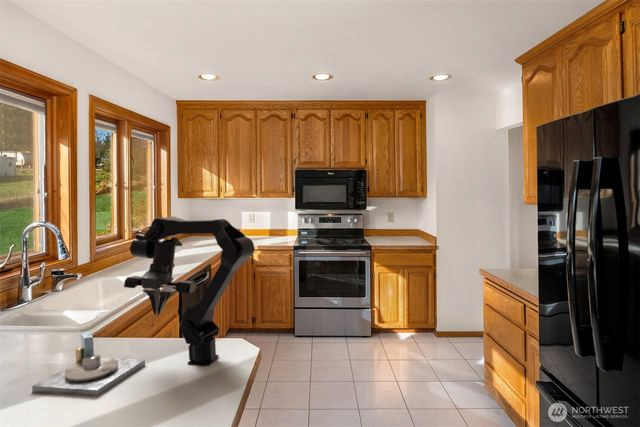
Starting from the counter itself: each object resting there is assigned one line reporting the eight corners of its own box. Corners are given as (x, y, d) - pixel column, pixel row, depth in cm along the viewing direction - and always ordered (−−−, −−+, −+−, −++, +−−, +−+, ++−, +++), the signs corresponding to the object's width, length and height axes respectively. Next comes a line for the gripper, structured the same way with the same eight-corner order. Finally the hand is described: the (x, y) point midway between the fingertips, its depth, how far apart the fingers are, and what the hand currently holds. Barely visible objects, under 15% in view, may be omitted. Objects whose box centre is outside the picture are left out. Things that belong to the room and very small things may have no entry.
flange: (123, 371, 103) (121, 340, 102) (68, 385, 95) (66, 352, 95) (110, 355, 114) (109, 327, 114) (60, 367, 106) (59, 337, 106)
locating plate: (145, 365, 111) (144, 343, 110) (97, 396, 93) (95, 371, 93) (88, 362, 114) (87, 341, 114) (32, 392, 96) (31, 367, 96)
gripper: (117, 258, 108) (110, 317, 107) (186, 265, 108) (179, 323, 107) (136, 256, 119) (129, 309, 118) (198, 262, 119) (192, 315, 118)
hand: (157, 314), depth 115 cm, fingers closed
